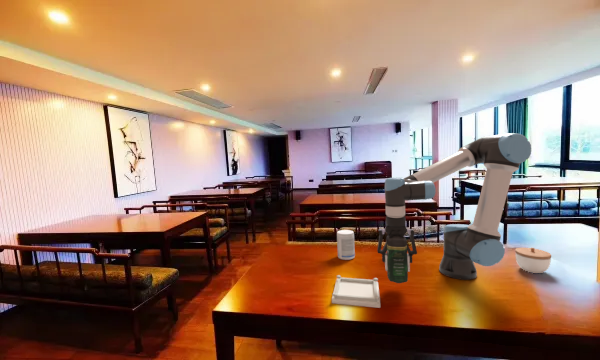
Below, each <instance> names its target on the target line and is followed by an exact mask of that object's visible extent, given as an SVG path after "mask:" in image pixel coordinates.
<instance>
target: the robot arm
mask: <svg viewBox="0 0 600 360" xmlns="http://www.w3.org/2000/svg"><path fill="white" fill-rule="evenodd" d="M531 154H532V145H531V142H530V140H529V139H528V138H527V137H526V136H525V135H524V134H521V133H516V132H515V133H514V132H512V133H510V132H507V133H503V134H495V135H487V136H483V137H480V138H478V139H476V140H474V141H472V142H470V143H468V144H466V145H464V146H463V147H460V148H458V150H457V152H455V153H452V154H451V155H449V156H447V157H445V158H442V159H440V160H439V161H437V162H434V163H433V164H431V165H429V166H427V167H425V168H423V169H420V170H419V171H417V172H415V173H413V174H410V175H408V176H406V177H404V178H403V177H389V178H386V179H385V180H384V200H385V202H384V203H385V215H386V216H385V228H379V229H378V234H379V236H378V242H377V253H378V254H381V261H382V263H384V266H385V267H384V268H385V271H386V272H387V271H388V266H387V242H386V241H385V243H384V245H383V248H382V244H383V237H384V236H383V235H385V233H386V234H387V235H388V238H392V237H393V236H400V237H401V238H404V237H405V235H406V233H407V234H408V235H409V239H410V243H411V249H412V250H411V249H410V246H409V244H408V243H407V268H408V272H409V273H410V272H411V264H412V263H413V256H414V255H417V254H418V250H417V245H416V241H415V237H414V236H415V235H414V234H415V230H414V229H413V228H407V226H406V225H407V223H406V222H407V221H406V201H420V200H421V201H422V200H424V201H425V200H431V199H433V198H434V197H435V196H436V186H435V183H436V182H438V181H440V180H442V179H444V178H446V177H447V176H450V175H452V174H453V173H456V172H458V171H460V170H462V169H464V168H467V167H469V168H471V167H474V166H476V165H479V164H483V166H484V167H485V169H486V171H485V175H484V179H483V183H482V187H481V190H480V191H481V192H480V195H479V199H478V203H477V206H476V210H475V214H474V217H473V222H472V224H460V223H457V224H456V223H455V224H454V223H452V224H451V223H450V224H446V225H445V226H443V227H444V228H443V255H442V258H441V260H440V263H439V266H438V267H439V272H440V273H441V274H442V275H444V276H446V277H449V278H452V279H456V280H473V279H476V278H477V277H478V271H477V268H476V265H475V264H477V265H480V266H482V267H492V266H495V265H496V264H498V263H500V262H501V261H502V260H503V258H504V256H505V253H506V249H505V247H504V244H503V243H502V242H501V237H502V235H501V233H500V232H499V227H500V223H501V219H502V215H503V211H504V208H505V204H506V200H507V195H508V192H509V188H510V184H511V181H512V177H513V173H515V172H517V171H518V170H519V169H520V166H521V164H522V163H523V162H526V161H527V160H528V159H529V158H530V157H531ZM405 238H406V237H405ZM405 238H404V239H405Z"/></svg>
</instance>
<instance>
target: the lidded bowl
mask: <svg viewBox="0 0 600 360" xmlns="http://www.w3.org/2000/svg"><path fill="white" fill-rule="evenodd" d="M514 252H515V261H516V263H517V265H518V267H519V268H521V270H522V269H523V270H522V271H524V270H525V271H524V272H526V271H528V272H527V273H529V272H533V273H542V274H543V273H544V272H546V271H547V270H548V269H549V267H550V265H551V261H552V254H551V253H549V252H548V251H546V250H542V249H537V248H535V247H516V248H515V251H514ZM533 273H532V274H533Z"/></svg>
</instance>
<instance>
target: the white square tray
mask: <svg viewBox="0 0 600 360" xmlns="http://www.w3.org/2000/svg"><path fill="white" fill-rule="evenodd" d="M378 281H379V278H377V277H373V279H369V278H368V279H366V278H356V277H354V278H352V277H342V276H341V275H340V274H338V275H336V279H335V285H334V289H333V293H331V294H332V297H331V304H338V305H346V306H356V307H367V308H379V309H380V308H381V296H380V289H379V282H378Z"/></svg>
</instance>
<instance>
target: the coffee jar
mask: <svg viewBox="0 0 600 360" xmlns="http://www.w3.org/2000/svg"><path fill="white" fill-rule="evenodd" d="M385 238H386V241H385V243H386V242H387V251H386V253H387V266H388V271H386V274H387V279H388V280H389V282H392V283H396V284H403V283H408V279H409V277H408V276H409V273H408V268H407V254H408V251H407V244H408V243H407V238H406V237H405V236H404V238H405V239H404V238H401V237H400V236H393V237H392V238H388V234H387V235H386V237H385Z"/></svg>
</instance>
